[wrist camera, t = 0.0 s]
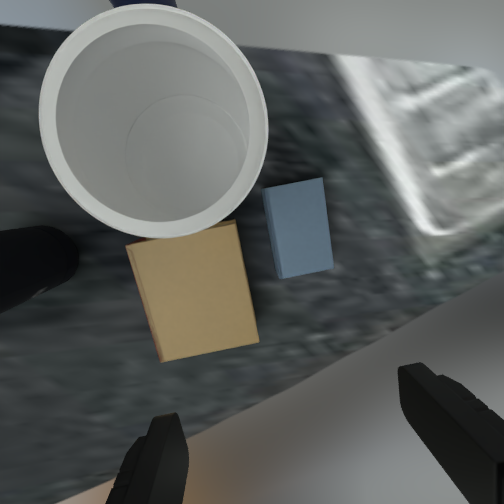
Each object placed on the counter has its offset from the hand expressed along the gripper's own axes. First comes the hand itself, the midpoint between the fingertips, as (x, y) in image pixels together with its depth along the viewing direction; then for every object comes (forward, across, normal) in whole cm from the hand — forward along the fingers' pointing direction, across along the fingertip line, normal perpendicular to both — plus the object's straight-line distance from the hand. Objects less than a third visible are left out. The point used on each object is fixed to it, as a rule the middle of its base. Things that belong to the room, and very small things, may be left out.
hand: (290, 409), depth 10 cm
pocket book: (+21, -5, -3) cm, 21 cm away
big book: (+21, +6, +1) cm, 21 cm away
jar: (+21, +4, -11) cm, 24 cm away
